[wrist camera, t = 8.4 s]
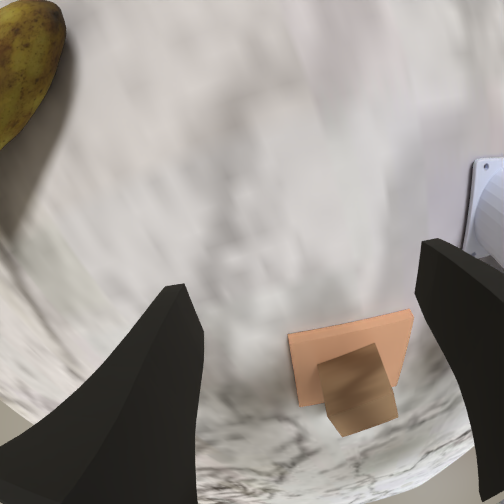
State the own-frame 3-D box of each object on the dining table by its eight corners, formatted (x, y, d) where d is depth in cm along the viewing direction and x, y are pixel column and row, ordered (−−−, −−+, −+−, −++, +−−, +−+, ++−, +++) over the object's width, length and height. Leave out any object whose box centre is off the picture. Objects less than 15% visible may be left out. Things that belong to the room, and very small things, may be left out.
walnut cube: (374, 342, 23) (393, 392, 19) (383, 372, 26) (398, 417, 21) (316, 364, 24) (327, 416, 20) (332, 391, 27) (342, 437, 22)
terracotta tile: (409, 308, 23) (414, 317, 22) (393, 378, 28) (396, 385, 27) (287, 334, 23) (289, 343, 23) (298, 398, 29) (299, 407, 28)
